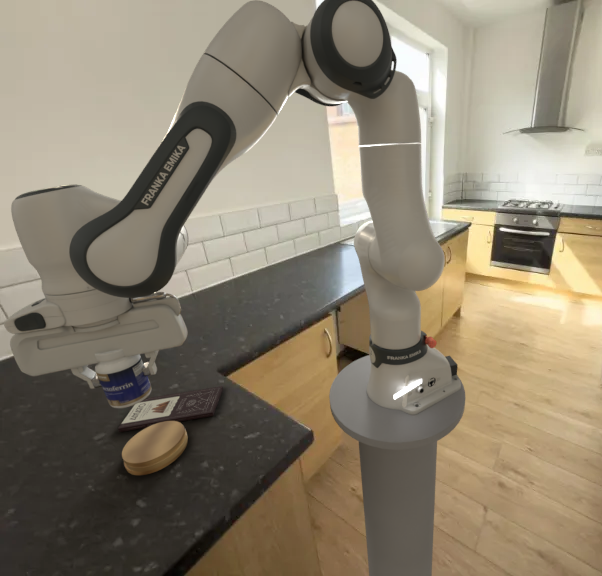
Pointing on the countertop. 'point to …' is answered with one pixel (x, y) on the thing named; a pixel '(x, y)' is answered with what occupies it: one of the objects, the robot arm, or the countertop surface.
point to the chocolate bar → (172, 408)
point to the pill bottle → (122, 378)
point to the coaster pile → (154, 447)
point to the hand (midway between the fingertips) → (125, 379)
